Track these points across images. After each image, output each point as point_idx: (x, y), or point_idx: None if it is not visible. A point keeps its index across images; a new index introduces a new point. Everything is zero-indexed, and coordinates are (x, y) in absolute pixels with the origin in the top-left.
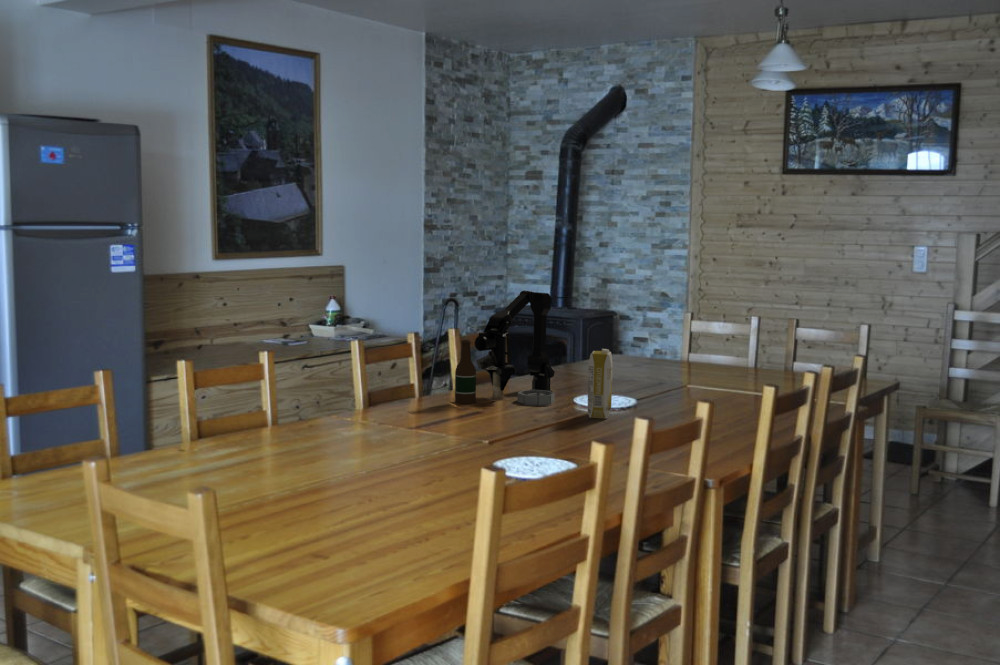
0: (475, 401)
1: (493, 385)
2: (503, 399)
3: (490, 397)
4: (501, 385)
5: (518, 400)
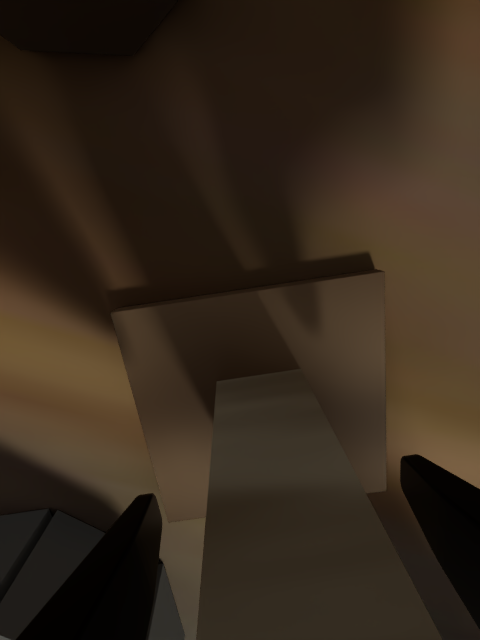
0: (2, 35)
1: (326, 479)
2: (183, 442)
3: (324, 353)
4: (69, 589)
5: (9, 540)
